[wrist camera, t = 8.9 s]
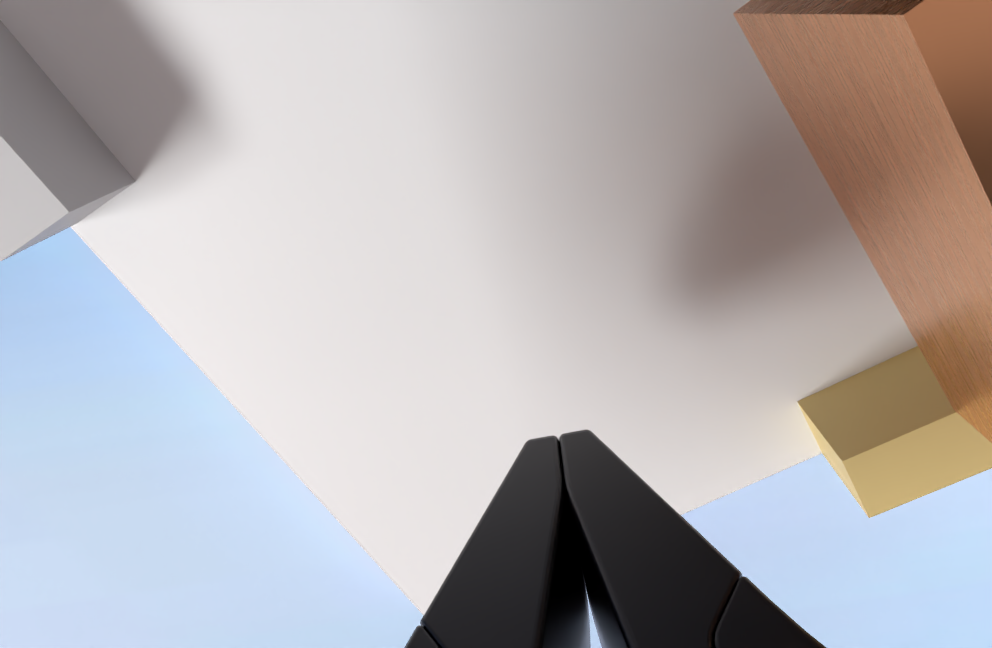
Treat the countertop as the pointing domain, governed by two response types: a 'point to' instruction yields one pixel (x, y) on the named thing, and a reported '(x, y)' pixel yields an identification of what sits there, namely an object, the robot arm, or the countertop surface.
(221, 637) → the countertop surface
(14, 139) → the coupling board
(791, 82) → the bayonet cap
